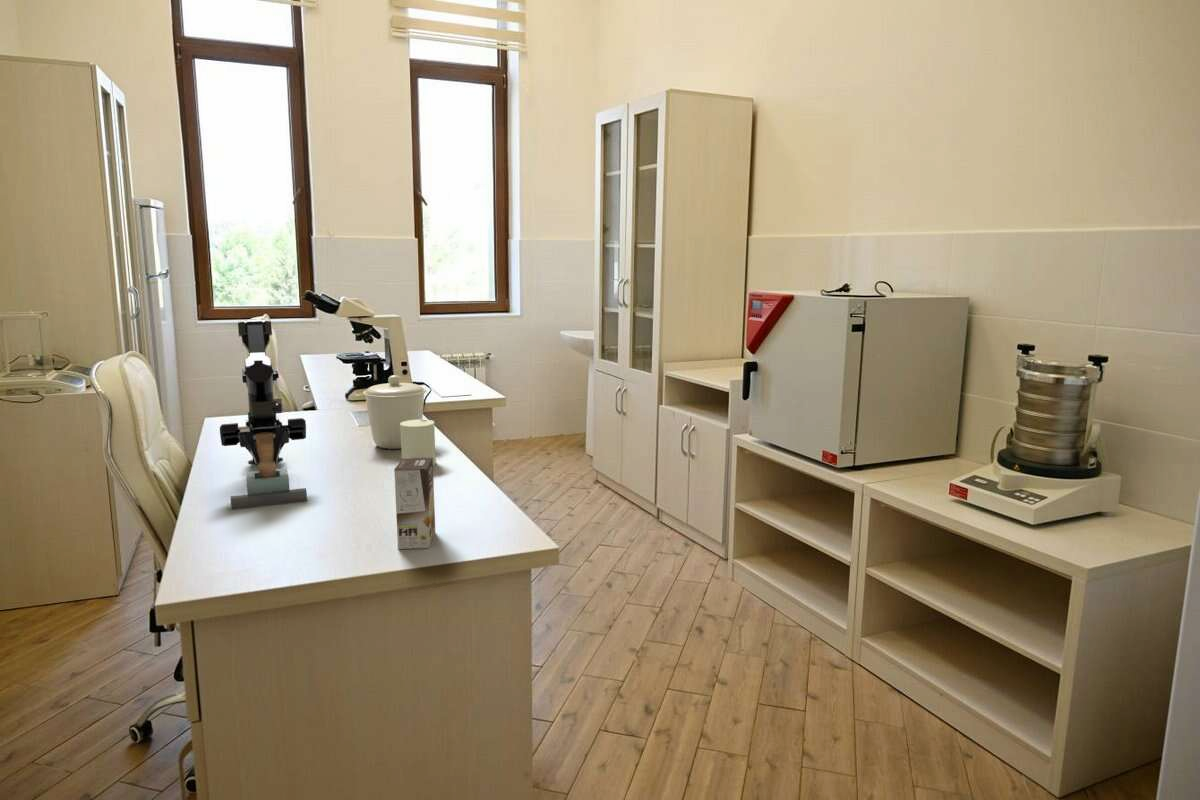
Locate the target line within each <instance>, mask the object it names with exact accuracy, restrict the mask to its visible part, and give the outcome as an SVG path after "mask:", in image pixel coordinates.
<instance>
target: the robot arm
mask: <svg viewBox="0 0 1200 800" xmlns="http://www.w3.org/2000/svg"><path fill="white" fill-rule="evenodd" d="M237 330H238V331H237V332H238V337H240V338H241V342H242V345H243V346H244V347H245V349H246V351H247V352H248V357H247V358H246V359H244V368H242V369H241V378H242V384H246V389H247V397H248V399H247V400H248V412H247V419H248V420H245V426H239V423H238V422H233V423H222V424H221V425H220V426H219V435H220V442H221V446H222V447H230V446H238V444H239V447H240V448H245V449H246V451H248V453H249V454H250V455H251V457H252V459H251V460H248V461H247V462H248V464H254V463H255V465H258V455H257V442H256V434H258V433H263V432H271V433H273V445H274V459H275V463H277V462H280V461H283V460H284V458H283V457H280V454H281V451H282V450H283V447H284V445H285V444H289V443H290V440H292V441H297V440H304V439H306V438H307V424H306V423H307V421H306V420H305V419H304V417H297V418H288V419H287V424H283V422H281V420H280V417H277V414H282V413H283V404H282V398H275V396H274V382H277V379H279V378H280V375H279V371H277V369H276V367H273V365H272V364H273V363H272V359H271V358H270V357H269V356H267V355H266V354H267V353H266V349H267V348H268V347H269V344H270V342H271V341H270V340H271V339H270V336H273V329H272V321H271V320H270V321H269V320H267V318H257V319H256V318H255V319H253V318H252V319H251V318H249V319H242V321H239V322H238V321H237Z"/></svg>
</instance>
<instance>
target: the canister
mask: <svg viewBox="0 0 1200 800" xmlns="http://www.w3.org/2000/svg"><path fill="white" fill-rule="evenodd" d="M401 380H402V379H401V377H400V376H399V375H396V374H393V375H390V376H389V377H388V379H387V381H388V382H387V383H380V384H379V383H378V384H375V385H372V386H370V387H369V386H368V388H366V390H364V391H362V394H363V396H364V397H365V403H366V407H367V413H368V420H369V425H370V426H369V427H370V430H371V435H372V440H373V442H374V443H375V445H376V446H377V447H379V448H381V449H386V448H387V449H388V450H390V449H391V450H399V449H401V450H402V447H401V429H400V423H401V422H404V421H408V420H417V419H424V418H423V417H424V416H423V415H424V405H425V404H424V403H425V401H424V400H425V394H426V393H427V389H426V388H425V387H423V386H421V385H420V384H416V383H413V382H412V383H410V382H401ZM387 449H386V450H387Z"/></svg>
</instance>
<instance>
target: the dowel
mask: <svg viewBox="0 0 1200 800" xmlns="http://www.w3.org/2000/svg"><path fill="white" fill-rule="evenodd" d="M256 442H257V455H258V464H257V466H258V471H259V479H260V478H270V477H276V471H275V469H276V462H275V459H274V445H273V433H271V432H263V433H258V434H256Z"/></svg>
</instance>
